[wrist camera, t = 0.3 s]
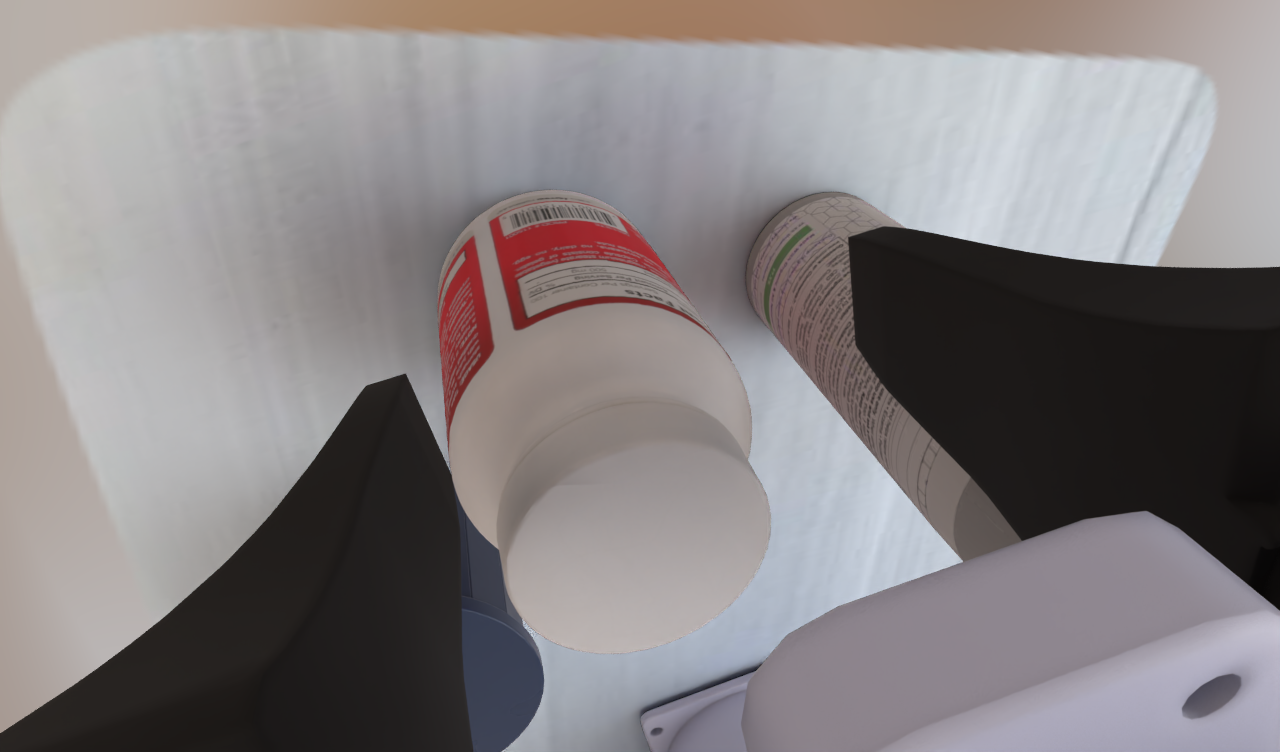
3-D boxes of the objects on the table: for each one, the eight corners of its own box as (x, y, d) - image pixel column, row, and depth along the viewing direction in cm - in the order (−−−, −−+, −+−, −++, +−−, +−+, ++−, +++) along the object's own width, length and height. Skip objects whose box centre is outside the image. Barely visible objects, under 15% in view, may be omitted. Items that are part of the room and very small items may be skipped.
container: (916, 229, 24) (1442, 574, 12) (831, 353, 26) (1215, 770, 14) (800, 164, 22) (1288, 496, 10) (716, 302, 24) (1044, 738, 12)
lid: (539, 730, 25) (562, 875, 21) (291, 774, 23) (269, 940, 19) (538, 557, 21) (564, 696, 17) (244, 594, 19) (205, 756, 16)
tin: (510, 608, 28) (529, 741, 24) (320, 635, 27) (302, 782, 22) (505, 464, 25) (526, 587, 21) (289, 485, 24) (260, 622, 19)
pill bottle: (526, 418, 25) (594, 730, 15) (387, 274, 21) (369, 563, 12) (691, 302, 24) (867, 555, 15) (575, 135, 21) (708, 326, 11)
